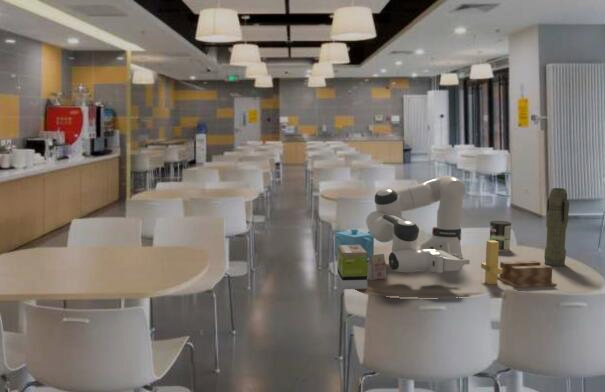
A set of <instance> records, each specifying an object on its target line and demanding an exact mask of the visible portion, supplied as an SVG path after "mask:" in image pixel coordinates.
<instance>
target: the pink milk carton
mask: <svg viewBox="0 0 605 392" xmlns="http://www.w3.org/2000/svg"><path fill="white" fill-rule="evenodd" d="M386 271H387V264H386V259H385V254H384V253H381V254H380V253H379V254H374V255H370V257H369V258H368V261H367V278H368V279H367V280H370V279H371V280H370V281H378V280H377V279H379V280H384V278H386V277H387V274H386V273H387V272H386Z"/></svg>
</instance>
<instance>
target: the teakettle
mask: <svg viewBox="0 0 605 392" xmlns="http://www.w3.org/2000/svg"><path fill="white" fill-rule="evenodd" d="M335 231H336V232H335V233H334V235H333V237H334V256H336V257H337V246H338V245H361V246H362V247H363V248H364V250H365V251H366V252H367V259H369V257H370V255H375V254H374V251H375V250H374V249H375V245H374V244H375V242H374V241H375V238H374V237H373V235H372V234H371V233H370V231H369V230H368V231H367V232H363V231H359V229H358V228H351V229H350V230H346V231H342V230H341V229H339V228H335Z"/></svg>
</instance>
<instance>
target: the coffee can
mask: <svg viewBox="0 0 605 392" xmlns="http://www.w3.org/2000/svg"><path fill="white" fill-rule="evenodd" d="M489 223H490V224H489V225H490V226H489V241H494V240H495V241H497V242H499V252H508V251H509V252H510V249H511V248H510V246H511V233H512V232H511V231H512V230H511V229H512V228H511V227H512V222H510V221H505V220H491V221H490V222H489Z"/></svg>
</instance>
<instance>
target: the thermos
mask: <svg viewBox="0 0 605 392" xmlns="http://www.w3.org/2000/svg"><path fill="white" fill-rule="evenodd" d="M567 192H568V191H567V189H565V188H563V187H561V188H560V187H554V188H551V189H550V192H549V195H548V196H549V197H548V198H547V199H546V224H545V226H546V228H547V229H546V245H545V248H544V258H543V259H544V265H548V266H551V267H564V266H565V265H566V264H565V262H566V258H567V257H566V256H567V251H566V234H567V233H566V231H567V228H568V222H569V214H570V213H569V212H570V211H569V210H570V202H569V200H568V193H567Z"/></svg>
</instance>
